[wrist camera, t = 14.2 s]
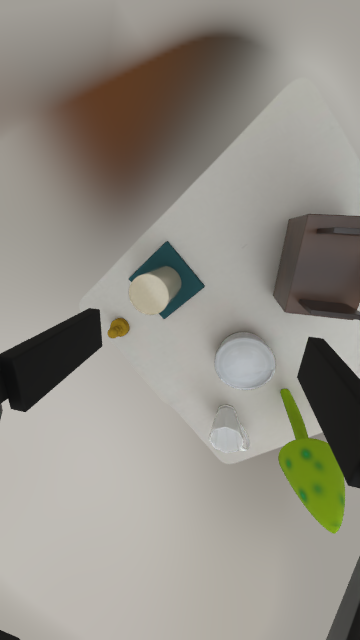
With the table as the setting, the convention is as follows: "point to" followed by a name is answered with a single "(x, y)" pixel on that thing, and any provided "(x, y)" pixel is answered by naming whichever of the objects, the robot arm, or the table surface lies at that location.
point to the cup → (228, 431)
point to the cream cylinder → (154, 290)
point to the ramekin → (244, 361)
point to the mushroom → (313, 471)
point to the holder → (320, 267)
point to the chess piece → (118, 328)
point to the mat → (173, 260)
